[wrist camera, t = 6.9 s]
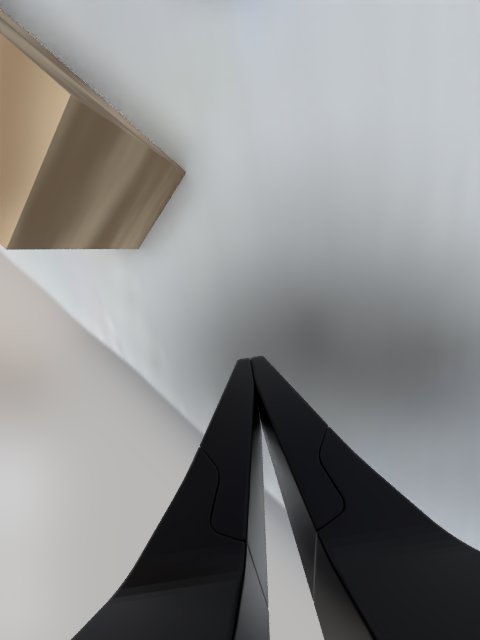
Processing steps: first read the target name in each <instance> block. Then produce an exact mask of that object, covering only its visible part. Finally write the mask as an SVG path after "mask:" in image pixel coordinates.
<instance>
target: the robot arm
mask: <svg viewBox="0 0 480 640" xmlns="http://www.w3.org/2000/svg"><path fill="white" fill-rule="evenodd" d="M258 408H259V409H258ZM259 414H260V415H259ZM260 420H261V422H260ZM261 425H262V429H263V432H264V436H265V439H266V443H267V446H268V449H269V453H270V456H271V460H272V463H273V466H274V470H275V473H276V476H277V480H278V483H279V487H280V490H281V493H282V497H283V500H284V504H285V507H286V510H287V514H288V517H289V520H290V524H291V527H292V531H293V534H294V537H295V541H296V544H297V548H298V551H299V554H300V557H301V561H302V565H303V568H304V571H305V575H306V578H307V582H308V584H309V588H310V592H311V595H312V598H313V601H314V605H315V609H316V612H317V616H318V619H319V622H320V626H321V629H322V633H323V636H324V639H325V640H480V551H478V550H476V549H474V548H473V547H471V546H469V545H467V544H466V543H464V542H462V541H461V540H459V539H457V538H456V537H454V536H453V535H451V534H450V533H448V532H447V531H446V530H444V529H443V528H442V527H440V526H439V525H438V524H436V523H435V522H434V521H433V520H431V519H430V518H429V517H428V516H427V515H425V514H424V513H423V512H422V511H421V510H420V509H418V508H417V507H416V506H415V505H414V504H413V503H412V502H410V501H409V500H408V499H407V498H406V497H405V496H403V495H402V494H401V493H400V492H399V491H398V490H396V489H395V488H394V487H393V486H392V485H391V484H390V483H388V482H387V481H386V480H385V479H384V478H383V477H381V476H380V475H379V474H378V473H377V472H376V471H375V470H373V469H372V468H371V467H370V466H369V465H368V464H367V463H366V462H365V461H363V460H362V459H361V458H360V457H359V456H358V455H357V454H356V453H355V452H354V451H353V450H352V449H351V448H350V447H349V446H348V445H347V444H346V443H345V442H344V441H343V440H342V439H341V438H340V437H339V436H338V435H337V434H336V433H335V432H334V431H333V430H332V429H331V428H330V427H328V425H327V424H326V422H325V421H324V420H323V419H322V418H321V417H320V416H319V415H318V414H317V413H316V412H315V411H314V410H313V409H312V408H311V406H310V405H309V404H308V403H307V402H306V401H305V400H304V399H303V398H302V397H301V396H300V395H299V394H298V393H297V392H296V391H295V389H294V388H293V387H292V386H291V385H290V384H289V383H288V382H287V381H286V380H285V379H284V378H283V377H282V376H281V375H280V373H279V372H278V371H277V370H276V369H275V368H274V367H273V366H272V365H271V364H270V363H269V362H268V361H267V360H266V359H265V358H264V357H263V356H258V357H252V358H251V360H250V358H246V359H239V360H238V361H237V363H236V365H235V367H234V369H233V372H232V374H231V376H230V378H229V381H228V383H227V385H226V387H225V390H224V392H223V394H222V396H221V399H220V401H219V403H218V405H217V408H216V410H215V412H214V414H213V417H212V419H211V421H210V423H209V426H208V428H207V430H206V433H205V435H204V437H203V439H202V442H201V444H200V447H199V448H198V450H197V452H196V455H195V457H194V459H193V462H192V464H191V466H190V468H189V470H188V472H187V474H186V476H185V478H184V480H183V482H182V484H181V486H180V488H179V489H178V491H177V493H176V495H175V497H174V498H173V501H172V502H171V504H170V506H169V507H168V509H167V511H166V512H165V514H164V516H163V517H162V519H161V521H160V523H159V524H158V526H157V528H156V530H155V531H154V533H153V535H152V537H151V538H150V540H149V542H148V543H147V545H146V547H145V549H144V550H143V552H142V554H141V556H140V557H139V559H138V561H137V562H136V564H135V566H134V567H133V569H132V570H131V572H130V573H129V575H128V576H127V578H126V579H125V581H124V582H123V583H122V585H121V586H120V587H119V589H118V590H117V591H116V593H115V594H114V595H113V596H112V597H111V598H110V600H109V601H108V602H107V603H106V604H105V605H104V606H103V607H102V608H101V609H100V610H99V611H98V612H97V613H96V614H95V616H93V617H92V618H91V620H90V621H89V622H88V623H87V624H86V625H85V626H84V627H83V628H82V629H81V630H80V631H79V632H78V633H77V634H76V635H75V636H74V637H73V638H72V639H71V640H270V635H269V611H268V586H267V560H266V535H265V511H264V485H263V460H262V435H261Z"/></svg>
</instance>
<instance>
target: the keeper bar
mask: <svg viewBox="0 0 480 640" xmlns="http://www.w3.org/2000/svg"><path fill="white" fill-rule="evenodd" d="M185 173H186V172H185V171H184V170H183V169H182V168H181V167H179V166H178V165H177V164H176V163H175V162H174V161H173V160H171V159H170V158H169V157H168V156H167V155H166V154H165V153H164V152H162V151H161V150H160V149H159V148H158V147H157V146H156V145H154V144H153V143H152V142H151V141H150V140H149V139H148V138H147V137H145V136H144V135H143V134H142V133H141V132H140V131H139V130H137V129H136V128H135V127H134V126H133V125H132V124H131V123H130V122H128V121H127V120H126V119H125V118H124V117H123V116H122V115H121V114H119V113H118V112H117V111H116V110H115V109H114V108H113V107H111V106H110V105H109V104H108V103H107V102H106V101H105V100H104V99H102V98H101V97H100V96H99V95H98V94H97V93H96V92H94V91H93V90H92V89H91V88H90V87H89V86H88V85H87V84H85V83H84V82H83V81H82V80H81V79H80V78H79V77H77V76H76V75H75V74H74V73H73V72H72V71H71V70H70V69H68V68H67V67H66V66H65V65H64V64H63V63H62V62H61V61H59V60H58V59H57V58H56V57H55V56H54V55H53V54H51V53H50V52H49V51H48V50H47V49H46V48H45V47H44V46H42V45H41V44H40V43H39V42H38V41H37V40H36V39H34V38H33V37H32V36H31V35H30V34H29V33H28V32H27V31H25V30H24V29H23V28H22V27H21V26H20V25H19V24H18V23H16V22H15V21H14V20H13V19H12V18H11V17H10V16H8V15H7V14H6V13H5V12H4V11H3V10H2V9H1V8H0V244H1V245H2V246H3V247H4V248H5V249H139V247H140V245H141V244H142V242H143V241H144V239H145V237H146V236H147V234H148V233H149V231H150V229H151V228H152V226H153V225H154V223H155V221H156V220H157V218H158V217H159V215H160V213H161V212H162V210H163V209H164V207H165V205H166V204H167V202H168V201H169V199H170V197H171V196H172V194H173V193H174V191H175V189H176V188H177V186H178V185H179V183H180V181H181V180H182V178H183V177H184V175H185Z"/></svg>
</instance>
